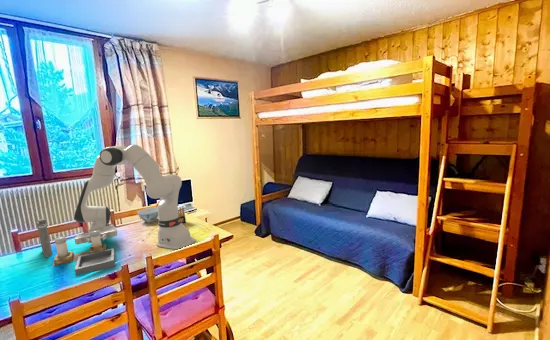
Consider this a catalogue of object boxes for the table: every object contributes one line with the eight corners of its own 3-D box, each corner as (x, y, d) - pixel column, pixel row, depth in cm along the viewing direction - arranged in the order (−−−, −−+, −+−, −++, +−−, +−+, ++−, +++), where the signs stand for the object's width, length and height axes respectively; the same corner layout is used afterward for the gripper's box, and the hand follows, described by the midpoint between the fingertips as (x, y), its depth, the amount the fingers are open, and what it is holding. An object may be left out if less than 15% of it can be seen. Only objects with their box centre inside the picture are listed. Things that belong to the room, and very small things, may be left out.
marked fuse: (104, 251, 155) (101, 230, 153) (95, 254, 151) (92, 233, 149) (100, 249, 157) (97, 229, 155) (91, 252, 154) (88, 232, 152)
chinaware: (163, 221, 203) (162, 210, 201) (140, 226, 194) (139, 215, 193) (158, 215, 215) (157, 206, 214) (137, 220, 207) (136, 210, 205)
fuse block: (108, 248, 161) (107, 242, 160) (107, 255, 152) (106, 249, 152) (56, 260, 149) (54, 253, 149) (52, 268, 141) (51, 261, 140)
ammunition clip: (170, 226, 191) (168, 209, 189) (169, 225, 193) (167, 208, 191) (186, 222, 197) (184, 206, 195) (185, 222, 199) (183, 205, 196)
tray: (114, 254, 153) (113, 248, 152) (114, 266, 139) (113, 260, 139) (79, 262, 145) (78, 256, 145) (75, 276, 132) (74, 269, 131)
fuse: (71, 258, 148) (66, 237, 145) (61, 262, 144) (56, 240, 142) (67, 256, 150) (63, 235, 148) (57, 260, 147) (53, 239, 144)
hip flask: (42, 250, 163) (35, 217, 159) (50, 247, 166) (44, 215, 162) (44, 259, 151) (37, 223, 148) (54, 256, 154) (47, 221, 151)
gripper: (75, 231, 159) (71, 239, 147) (116, 223, 168) (116, 230, 157) (76, 241, 160) (73, 250, 148) (117, 233, 170) (117, 241, 158)
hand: (96, 240), depth 152 cm, fingers closed on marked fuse, 4 cm apart
